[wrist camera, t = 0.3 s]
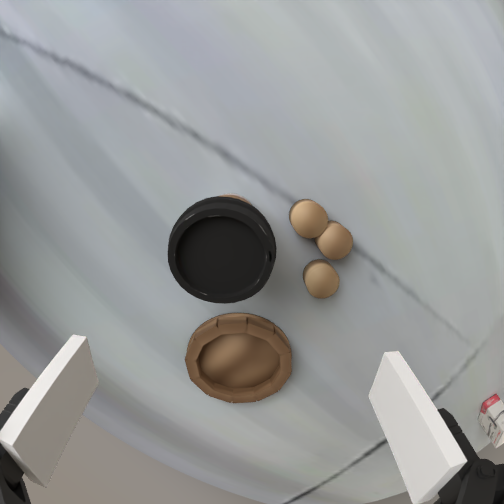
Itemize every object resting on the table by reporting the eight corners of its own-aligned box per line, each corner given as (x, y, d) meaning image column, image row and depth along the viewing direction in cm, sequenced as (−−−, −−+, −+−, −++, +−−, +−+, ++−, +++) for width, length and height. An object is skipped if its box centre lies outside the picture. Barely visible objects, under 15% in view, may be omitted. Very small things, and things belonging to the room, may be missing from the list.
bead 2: (308, 244, 37) (313, 251, 34) (323, 215, 36) (329, 220, 33) (335, 256, 38) (342, 264, 35) (350, 228, 37) (358, 235, 34)
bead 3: (297, 281, 39) (301, 291, 36) (311, 254, 37) (317, 262, 35) (323, 292, 39) (329, 302, 36) (338, 266, 38) (345, 275, 35)
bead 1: (283, 223, 36) (286, 229, 33) (298, 193, 35) (302, 196, 32) (312, 236, 37) (317, 243, 34) (327, 207, 36) (333, 212, 33)
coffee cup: (268, 249, 37) (280, 308, 23) (199, 254, 37) (171, 314, 23) (264, 180, 35) (275, 197, 20) (191, 185, 35) (154, 207, 20)
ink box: (481, 402, 50) (503, 432, 39) (496, 392, 49) (518, 421, 38) (476, 420, 52) (495, 449, 41) (490, 411, 52) (510, 439, 41)
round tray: (175, 373, 43) (172, 383, 41) (208, 296, 39) (206, 304, 37) (263, 403, 45) (263, 413, 43) (309, 334, 41) (313, 344, 39)
